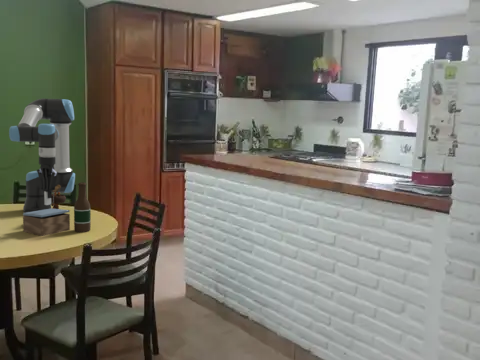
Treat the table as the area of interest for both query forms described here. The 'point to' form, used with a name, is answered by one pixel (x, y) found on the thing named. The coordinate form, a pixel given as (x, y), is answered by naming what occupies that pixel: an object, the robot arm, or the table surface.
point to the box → (46, 224)
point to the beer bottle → (82, 211)
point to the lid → (46, 212)
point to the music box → (57, 198)
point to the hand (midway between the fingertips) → (47, 204)
